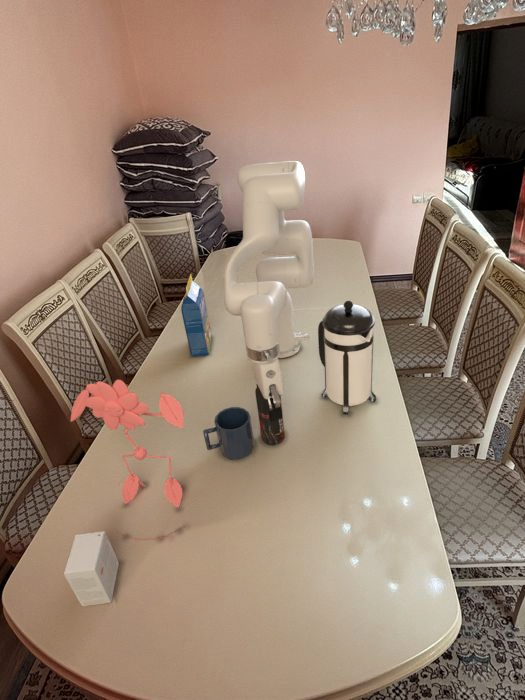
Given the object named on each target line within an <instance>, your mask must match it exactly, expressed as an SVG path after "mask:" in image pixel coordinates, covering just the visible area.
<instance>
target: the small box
mask: <svg viewBox="0 0 525 700" xmlns="http://www.w3.org/2000/svg"><path fill="white" fill-rule="evenodd" d="M73 538H74V539H73V541H72V545H71V548H70V551H69V554H68V558H67V561H66V564H65V567H64V571H63V576H64V578H65V579H66V581H67V584H68V585H69V587H70V588H71V590H72V591H73V594H74V595H75V597H76V598H77V600H78V602H79V603H80V606H81V607H90V606H96V605H105V604H111V603H112V601H113V595H114V591H115V586H116V581H117V576H118V572H119V571H118V570H119V565H120V562H119V560H118V558H117V555H116V553H115V550H114V549H113V546H112V544H111V542H110V539H109V538H108V536H107V533H106V531H105V530H103V531H95V532H88V533H87V532H86V533H79V534H75V535H74V537H73Z"/></svg>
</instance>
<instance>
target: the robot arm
mask: <svg viewBox="0 0 525 700" xmlns="http://www.w3.org/2000/svg"><path fill="white" fill-rule="evenodd" d="M236 178H237V184H238V187H239V189H240V191H241V192H242V239H241V241H240V242H239V243H238V245H237V246H236V247H235V248H234V250H233V251H232V252H231V254H230V255H229V257H228V259H227V261H226V264H225V267H224V273H223V301H224V307H225V309H226V311H227V313H228V314H230V315H232V316H239V317H240V316H241V323H242V329H243V337H244V343H245V344H244V345H245V350H246V357H247V359H248V360H249V361H250V362H251V365H252V371H253V377H254V380H255V383H256V388H257V387H259V389H260V391H261V393H262V395H263V397H264V398H265V399H267V401H268V405H269V407H268V414H269V420H270V421H275V420H278V419H282V418H283V419H284V415H282V414H283V406H282V405H281V404H282V400H281V401H280V398H279V395H280V396H281V397H282V396H284V395H285V389H284V382H283V377H282V370H281V364H280V360H279V359H284V358H289V357H292V356H294V355H296V354H297V353H298V352H299V351H300V349H301V343H302V341H307V340H310V335H309V333H305V334H304V333H303V331H299V332H295V319H294V307H293V306H294V305H293V298H292V296H291V294H290V293H289V291H288V289H302V288H308V287H310V286H312V285H313V283H314V280H315V264H314V244H313V243H314V242H313V234H312V233H313V232H312V228H311V226H310V224H309V222H308V221H306V220H302V219H291V220H286V219H285V212H287V211H298V210H300V209H301V208H302V207H303V205H304V201H305V195H306V173H305V169H304V166H303V164H302V163H301V162H300V161H297V160H286V161H275V162H261V163H260V162H259V163H253V164H247V165H244V166H242V167H240V168H239V169H238V171H237V177H236ZM261 254H262V255H264V256H273V257H267V258H263V259H261V260H259V261H258V263H257V264H256V267H255V276H256V280H257V281H244V282H243V281H242V282H238V276H239V272H240V270H241V269H242V268H243V266H244V265H246V264H247V263H248V262H249V261H251V260H252V259H255V258H256V257H258V256H259V255H261ZM285 255H287V256H285ZM288 255H292V256H288ZM269 393H271V394H272V395H271V396H269ZM270 398H273V400H274V403H273V404H271V401H270Z"/></svg>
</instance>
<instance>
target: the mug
mask: <svg viewBox="0 0 525 700" xmlns="http://www.w3.org/2000/svg"><path fill="white" fill-rule="evenodd" d="M213 422H214V426H213V427H210V428H206V429H204V430H203V431H202V432H203V438H204V442H205V447H206V450H207V451H211V450H214V449H215V450H216V449H219V451H220V454H221V455H222V456H223V457H224V458H225V459H228V460H232V461H237V460H243V459H246V458H247V457H249V456H250V455H251V454H252V453H253V451H254V449H255V439H254V432H253V425H252V418H251V415H250V412H249V411H248V410H247V409H245V408H243V407H239V406H231V407H227V408H223V409H222V410H221V411H218V413H217V414H216V415H215V417H214V420H213ZM212 433H216V437H217V442H216V443H214V444H211V440H210V435H209V434H212Z"/></svg>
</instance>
